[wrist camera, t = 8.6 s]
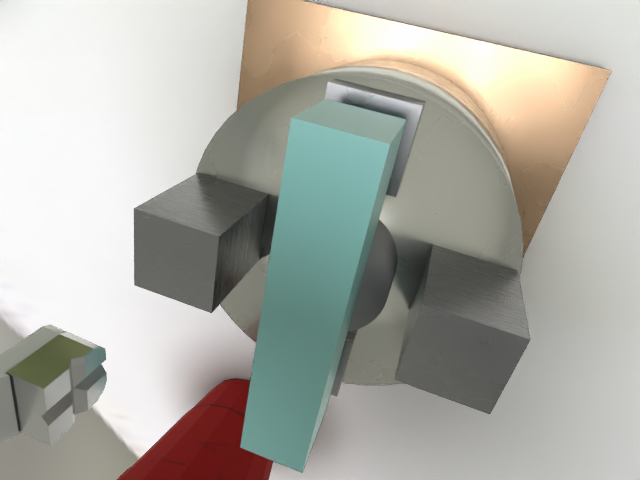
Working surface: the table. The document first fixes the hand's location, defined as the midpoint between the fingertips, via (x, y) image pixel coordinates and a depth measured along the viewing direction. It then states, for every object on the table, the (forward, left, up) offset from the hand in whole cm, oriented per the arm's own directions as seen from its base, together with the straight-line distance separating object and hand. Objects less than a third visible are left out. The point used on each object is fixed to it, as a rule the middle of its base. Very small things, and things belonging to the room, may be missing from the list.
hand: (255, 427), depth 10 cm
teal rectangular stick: (0, 0, -8) cm, 8 cm away
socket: (0, 0, -16) cm, 16 cm away
